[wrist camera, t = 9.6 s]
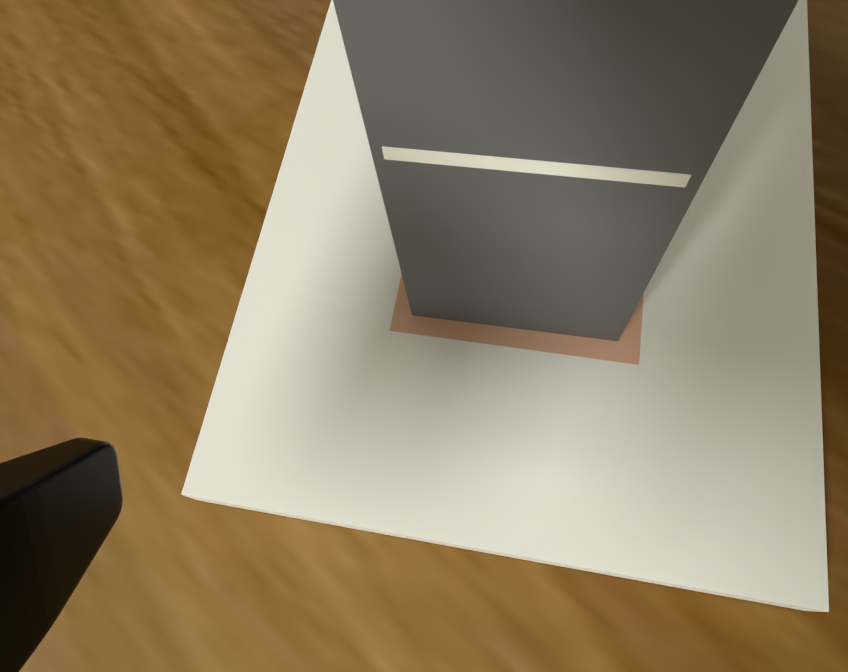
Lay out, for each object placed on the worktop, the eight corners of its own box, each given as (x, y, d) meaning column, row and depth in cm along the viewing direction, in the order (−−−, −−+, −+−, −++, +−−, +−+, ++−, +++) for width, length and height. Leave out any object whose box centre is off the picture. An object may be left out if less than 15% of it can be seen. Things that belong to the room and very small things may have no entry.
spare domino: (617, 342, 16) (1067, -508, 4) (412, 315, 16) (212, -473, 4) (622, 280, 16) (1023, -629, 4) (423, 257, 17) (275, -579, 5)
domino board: (806, 610, 14) (829, 612, 13) (198, 500, 16) (180, 494, 15) (783, -292, 26) (795, -326, 25) (430, -292, 28) (429, -323, 27)
